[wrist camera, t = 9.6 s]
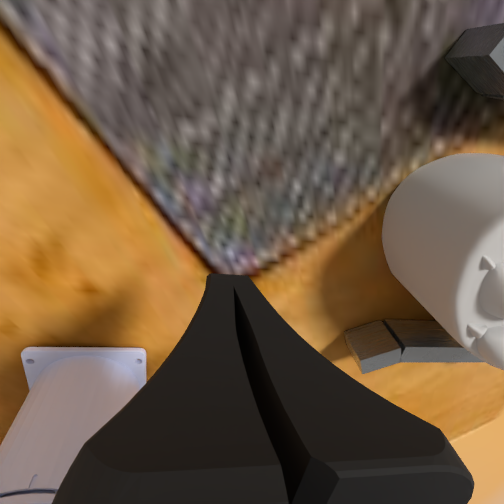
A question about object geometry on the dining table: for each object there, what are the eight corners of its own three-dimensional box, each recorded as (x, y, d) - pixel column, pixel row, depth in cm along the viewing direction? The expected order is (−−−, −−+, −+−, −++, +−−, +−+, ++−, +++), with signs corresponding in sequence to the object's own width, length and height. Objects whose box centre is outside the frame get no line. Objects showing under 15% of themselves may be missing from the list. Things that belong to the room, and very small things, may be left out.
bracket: (485, 345, 29) (524, 383, 25) (339, 344, 26) (360, 385, 22) (662, 74, 19) (766, 74, 15) (455, 26, 16) (525, 13, 13)
